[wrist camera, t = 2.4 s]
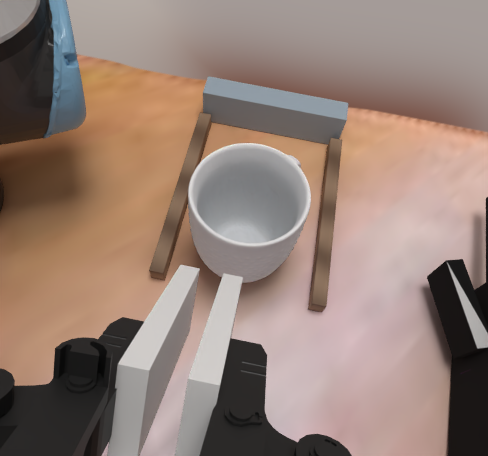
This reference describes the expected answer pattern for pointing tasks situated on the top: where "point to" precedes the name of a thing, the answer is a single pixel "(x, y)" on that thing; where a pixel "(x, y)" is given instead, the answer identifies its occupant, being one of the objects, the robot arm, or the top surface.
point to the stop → (274, 110)
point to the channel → (324, 224)
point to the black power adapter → (465, 353)
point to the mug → (247, 209)
